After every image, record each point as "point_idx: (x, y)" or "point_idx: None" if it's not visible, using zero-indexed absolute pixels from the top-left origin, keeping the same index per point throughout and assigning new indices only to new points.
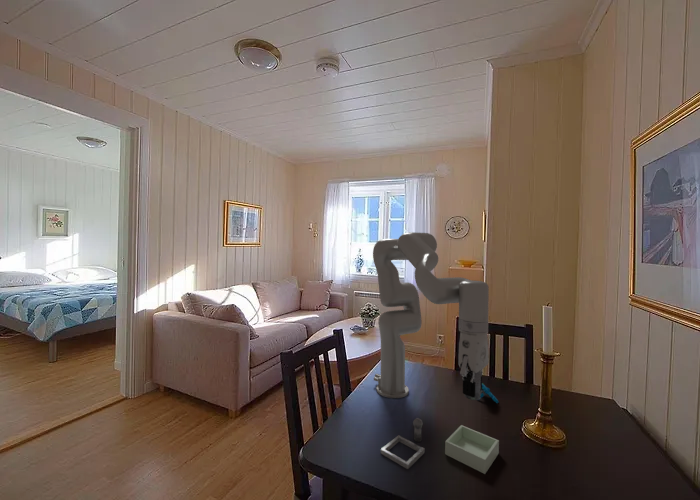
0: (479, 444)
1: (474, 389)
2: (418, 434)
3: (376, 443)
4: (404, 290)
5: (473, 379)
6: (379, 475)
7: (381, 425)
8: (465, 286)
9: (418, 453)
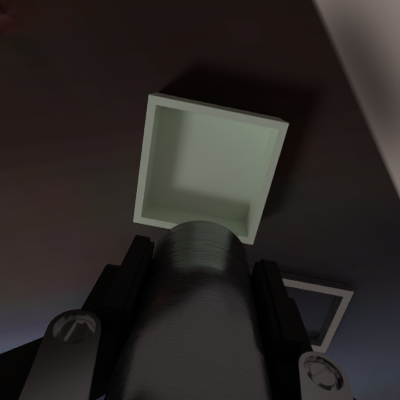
0: (156, 152)
1: (288, 297)
2: None
3: None
4: None
5: (307, 378)
6: (392, 323)
7: None
8: None
9: (299, 283)
